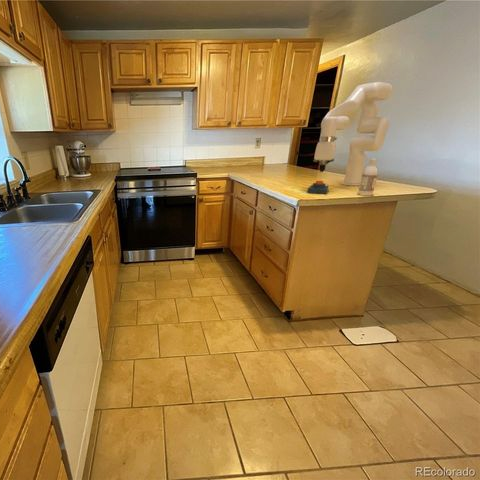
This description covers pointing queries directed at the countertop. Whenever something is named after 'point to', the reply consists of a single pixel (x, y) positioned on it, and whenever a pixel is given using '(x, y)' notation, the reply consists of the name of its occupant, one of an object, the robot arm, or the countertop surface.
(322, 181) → the nozzle
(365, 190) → the bath foam
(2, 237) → the countertop surface
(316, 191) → the dispenser
